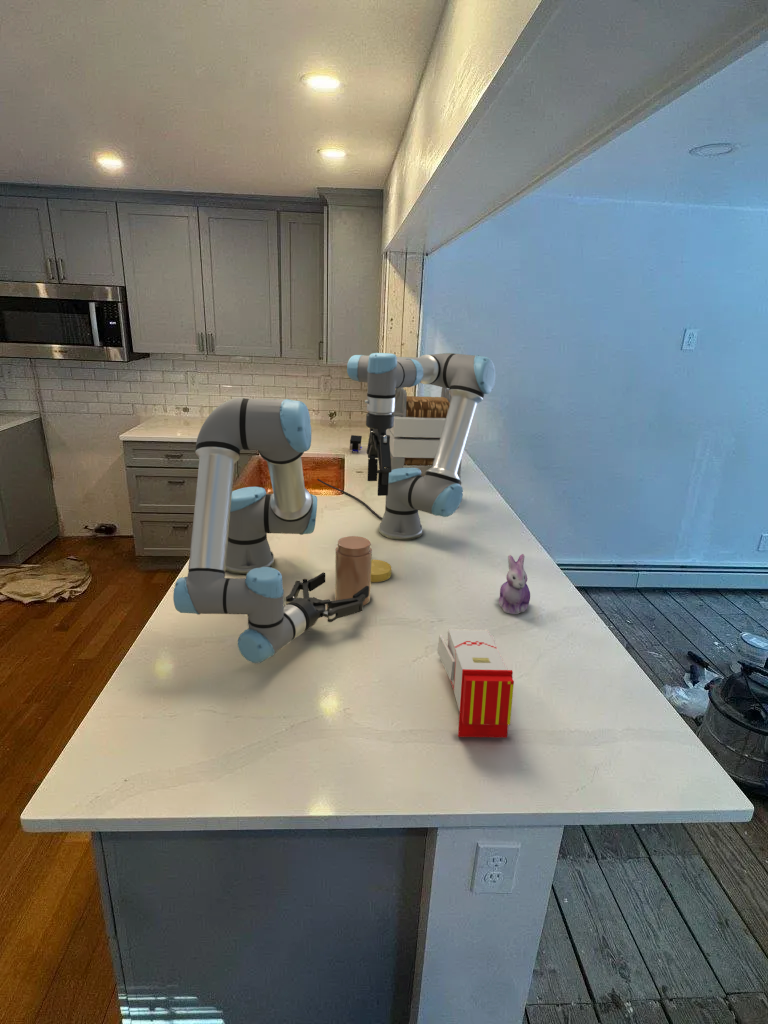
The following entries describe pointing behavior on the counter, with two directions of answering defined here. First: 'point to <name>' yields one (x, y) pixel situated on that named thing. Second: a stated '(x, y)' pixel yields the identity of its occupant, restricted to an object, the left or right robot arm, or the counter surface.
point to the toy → (478, 682)
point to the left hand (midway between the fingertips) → (345, 583)
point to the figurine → (515, 588)
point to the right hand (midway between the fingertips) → (377, 487)
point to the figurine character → (355, 443)
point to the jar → (352, 567)
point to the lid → (380, 571)
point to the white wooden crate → (417, 428)
